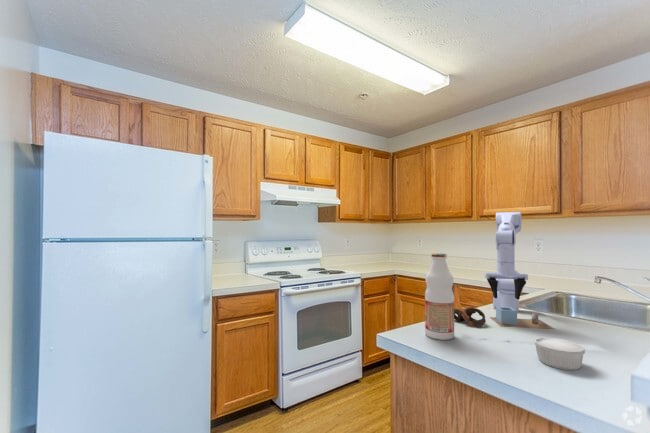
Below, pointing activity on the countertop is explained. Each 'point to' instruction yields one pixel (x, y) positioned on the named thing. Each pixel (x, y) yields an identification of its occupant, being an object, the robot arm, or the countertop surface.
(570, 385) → the countertop surface
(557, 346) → the ramekin
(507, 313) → the collar
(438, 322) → the fruit juice
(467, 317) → the brown curled shape
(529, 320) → the stub board
